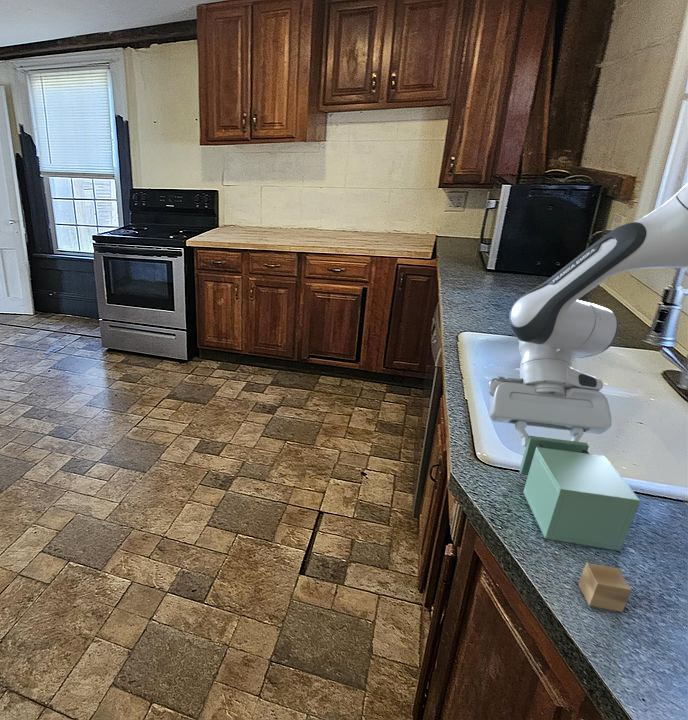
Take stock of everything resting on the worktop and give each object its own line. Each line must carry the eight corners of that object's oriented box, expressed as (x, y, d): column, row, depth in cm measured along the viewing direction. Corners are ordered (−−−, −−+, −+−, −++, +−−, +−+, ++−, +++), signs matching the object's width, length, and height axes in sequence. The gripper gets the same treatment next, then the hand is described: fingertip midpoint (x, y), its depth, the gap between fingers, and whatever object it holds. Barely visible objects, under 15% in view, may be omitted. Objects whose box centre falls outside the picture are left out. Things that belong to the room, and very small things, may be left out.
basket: (513, 459, 104) (522, 425, 101) (567, 467, 102) (578, 431, 99) (537, 508, 90) (549, 469, 87) (599, 517, 88) (614, 478, 85)
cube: (578, 584, 76) (586, 562, 74) (609, 589, 75) (618, 568, 73) (589, 606, 72) (597, 583, 71) (622, 612, 71) (631, 590, 70)
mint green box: (523, 492, 96) (536, 446, 92) (589, 502, 93) (605, 455, 90) (545, 538, 85) (560, 488, 81) (620, 551, 82) (640, 500, 78)
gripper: (493, 369, 104) (494, 437, 99) (612, 381, 99) (619, 453, 94) (484, 381, 110) (484, 445, 105) (595, 392, 105) (601, 460, 100)
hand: (549, 449), depth 99 cm, fingers closed on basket, 6 cm apart
